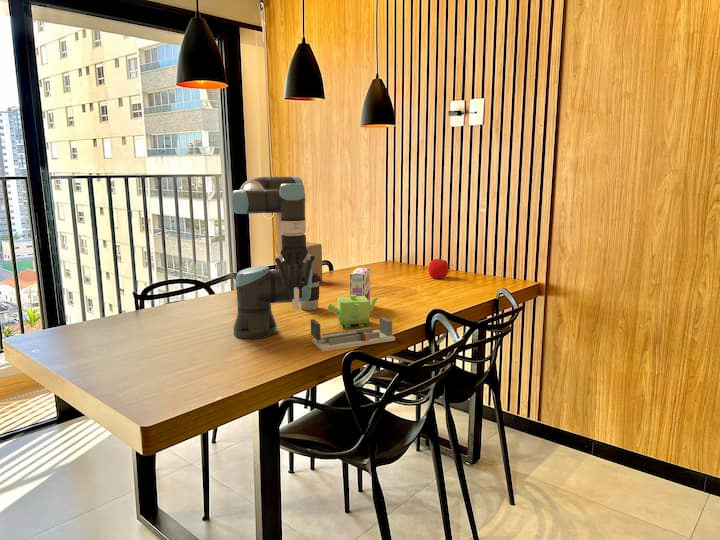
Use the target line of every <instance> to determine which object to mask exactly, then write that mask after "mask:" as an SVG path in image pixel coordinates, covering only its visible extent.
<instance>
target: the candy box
mask: <svg viewBox="0 0 720 540" xmlns="http://www.w3.org/2000/svg"><path fill="white" fill-rule="evenodd" d="M370 269H371V268H370V267H356V268H355V269H354V270H353V271H351V272H350V276H349V277H350V279H349V280H350V284H349V285H350V286H349V287H350V288H349V289H350V290H349V294H350V295H357V296H365V297H366V298H367V299H368V301H369V306H370V304H371V283H370V282H371V280H370V279H371V276H370V275H371V274H370V273H371V270H370ZM350 295H349V296H350Z"/></svg>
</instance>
